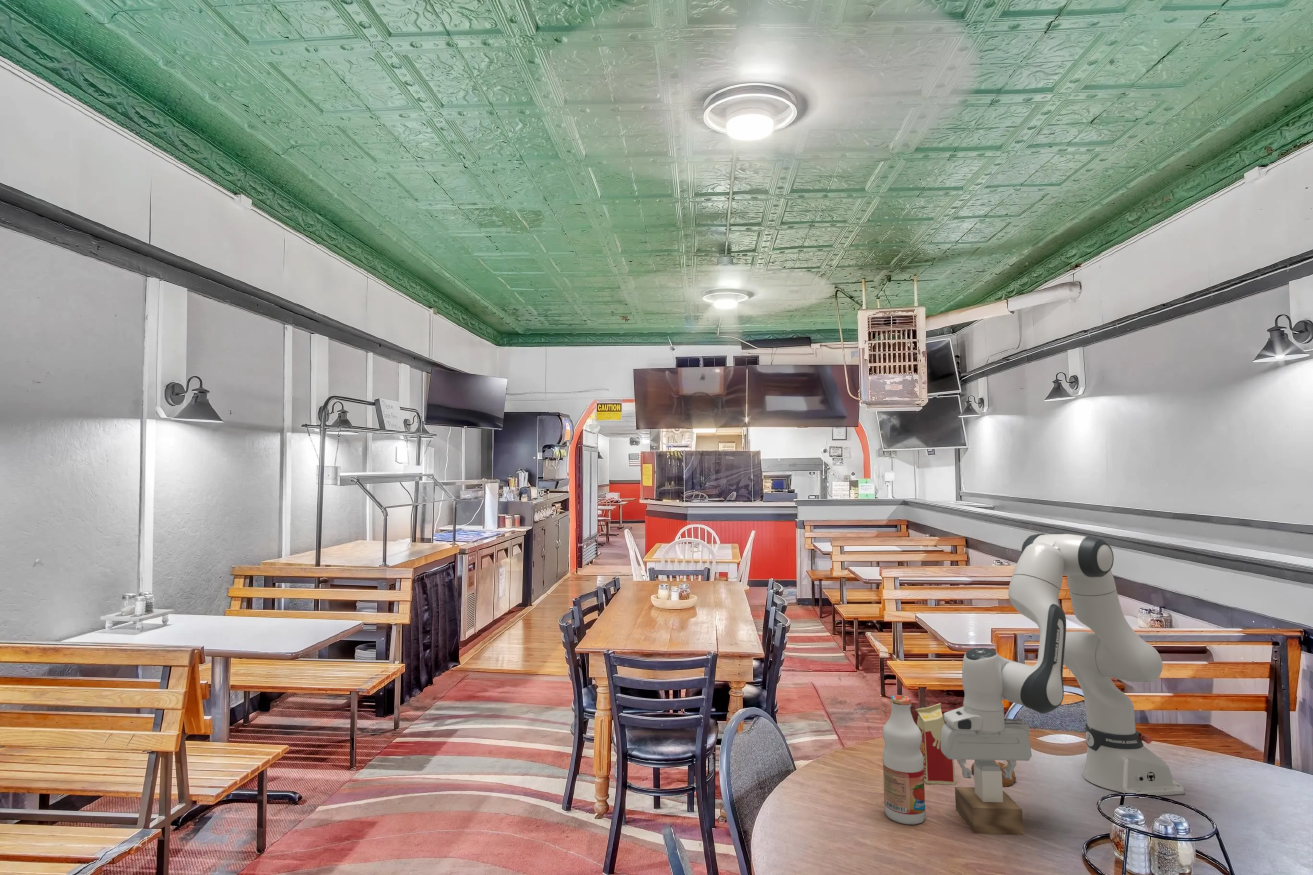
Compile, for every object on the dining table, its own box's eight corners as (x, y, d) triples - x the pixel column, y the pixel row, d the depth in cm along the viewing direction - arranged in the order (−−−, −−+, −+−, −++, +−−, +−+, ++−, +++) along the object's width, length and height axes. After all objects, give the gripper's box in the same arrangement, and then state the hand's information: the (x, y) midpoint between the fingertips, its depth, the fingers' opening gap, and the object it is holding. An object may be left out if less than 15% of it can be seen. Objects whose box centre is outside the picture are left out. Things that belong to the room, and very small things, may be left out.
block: (1001, 813, 161) (1000, 787, 162) (1023, 836, 150) (1022, 808, 151) (955, 811, 162) (954, 786, 162) (974, 834, 151) (972, 807, 151)
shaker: (994, 793, 158) (992, 759, 159) (1003, 802, 154) (1001, 766, 155) (974, 792, 159) (973, 758, 159) (983, 801, 154) (981, 766, 155)
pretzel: (1025, 788, 175) (1025, 774, 175) (984, 787, 175) (983, 773, 176) (1004, 769, 187) (1004, 756, 187) (965, 768, 187) (965, 755, 188)
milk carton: (945, 771, 185) (942, 698, 187) (957, 785, 176) (953, 708, 178) (912, 769, 186) (909, 697, 188) (922, 783, 177) (919, 707, 179)
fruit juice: (883, 804, 165) (880, 690, 168) (923, 809, 162) (919, 693, 165) (885, 822, 156) (881, 701, 159) (927, 828, 153) (922, 705, 156)
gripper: (1021, 714, 161) (1025, 772, 159) (936, 713, 162) (939, 771, 161) (1034, 723, 154) (1038, 784, 153) (946, 722, 156) (949, 782, 154)
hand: (986, 777), depth 157 cm, fingers open, 8 cm apart
